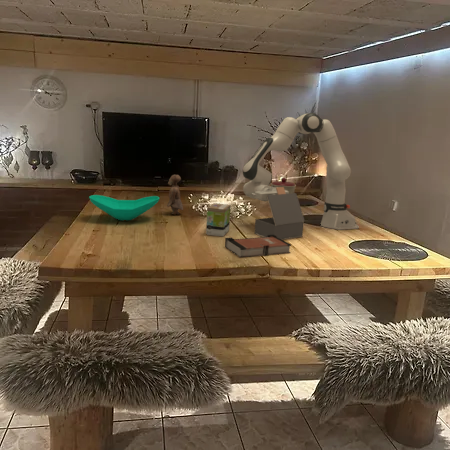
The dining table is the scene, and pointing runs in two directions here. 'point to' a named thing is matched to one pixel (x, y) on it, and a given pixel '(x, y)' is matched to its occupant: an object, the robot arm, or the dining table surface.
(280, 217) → the lid
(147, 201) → the table top decor
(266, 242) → the book
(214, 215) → the tea box
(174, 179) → the clay figurine
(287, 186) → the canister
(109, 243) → the dining table surface
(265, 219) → the box
